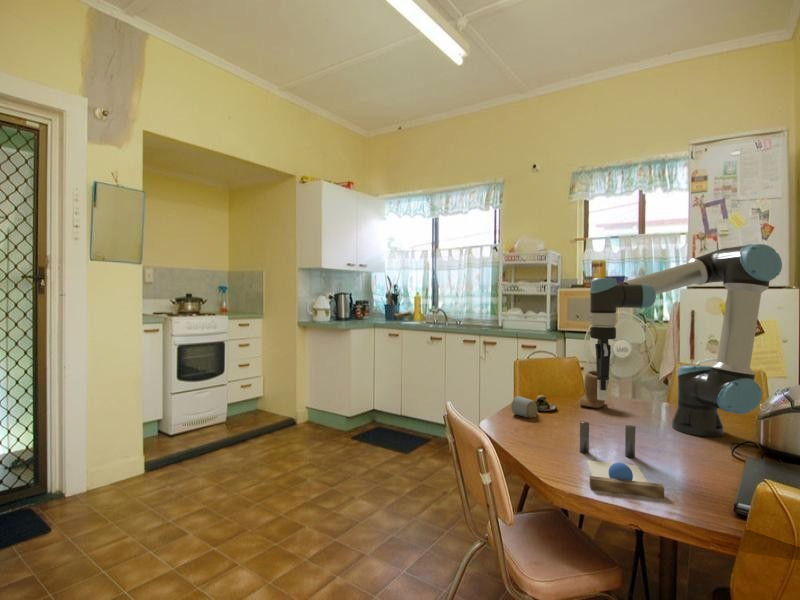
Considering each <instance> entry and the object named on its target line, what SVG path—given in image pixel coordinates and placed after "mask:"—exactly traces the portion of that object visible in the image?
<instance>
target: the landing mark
mask: <svg viewBox="0 0 800 600" xmlns="http://www.w3.org/2000/svg"><path fill="white" fill-rule="evenodd" d="M586 462H587V465H589V466H588V468H589V471H590V474H591V476H595V477H604V478H610V477H609V473H608V471H609V468H610V466H611V465H612V464H614V463H615V462H607V461H598V460H586ZM626 465H627V466H628V467H629V468H630V469H631V471H632V473H633V479H632V481H639V482H648V480H647V479H646V477H645V476H644V473H643V472H642V471H641V469H640V468H639V466H638V465H637V464H636V465H635V464H628V463H627V464H626Z"/></svg>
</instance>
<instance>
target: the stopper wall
mask: <svg viewBox="0 0 800 600" xmlns="http://www.w3.org/2000/svg"><path fill="white" fill-rule="evenodd" d="M589 488H590V490H594V491H603V492H609V493H617V494H618V493H619V494H628V495H633V496H634V495H636V496H643V497H653V498H659V499H660V498H661V499H665V487H664V485H663V484H662V483H655V482H648V481H647V482H639V481H630V480H621V479H613V478H604V477H595V476H592V475H589Z"/></svg>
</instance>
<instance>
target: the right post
mask: <svg viewBox="0 0 800 600" xmlns="http://www.w3.org/2000/svg"><path fill="white" fill-rule="evenodd" d="M624 428H625V429H624V430H625V432H624V433H625V435H624V436H625V437H624V438H625V439H624V440H625V441H624V442H625V443H624V446H625V447H624V453H625V455H624V456H625V457H626V458H629V459H635V458H636V426H635V425H632V424H625V427H624Z"/></svg>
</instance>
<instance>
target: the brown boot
mask: <svg viewBox="0 0 800 600" xmlns="http://www.w3.org/2000/svg"><path fill="white" fill-rule="evenodd" d="M596 373H597V370H588V371H586V373H585V376H584V382H583V383H584V390H585V394H583V395H582V397H581V398H580V399H579V400H578V404H579V405H581V406H583V407H588V408H596V409H597V408H598V409H599V408H602V407H603V406H604V405H605V402H606V400H598V399H597V388H598V380H596V377H597V376H598V375H597V374H596ZM597 378H598V377H597ZM609 381H610V378H609V379H608V385H607V388H608V386H609Z"/></svg>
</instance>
